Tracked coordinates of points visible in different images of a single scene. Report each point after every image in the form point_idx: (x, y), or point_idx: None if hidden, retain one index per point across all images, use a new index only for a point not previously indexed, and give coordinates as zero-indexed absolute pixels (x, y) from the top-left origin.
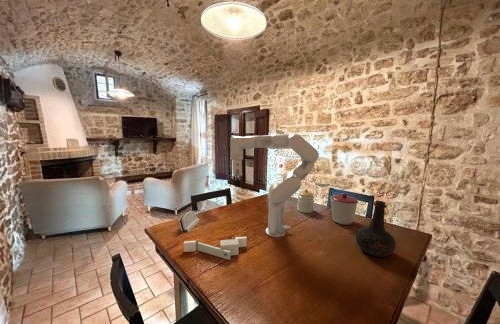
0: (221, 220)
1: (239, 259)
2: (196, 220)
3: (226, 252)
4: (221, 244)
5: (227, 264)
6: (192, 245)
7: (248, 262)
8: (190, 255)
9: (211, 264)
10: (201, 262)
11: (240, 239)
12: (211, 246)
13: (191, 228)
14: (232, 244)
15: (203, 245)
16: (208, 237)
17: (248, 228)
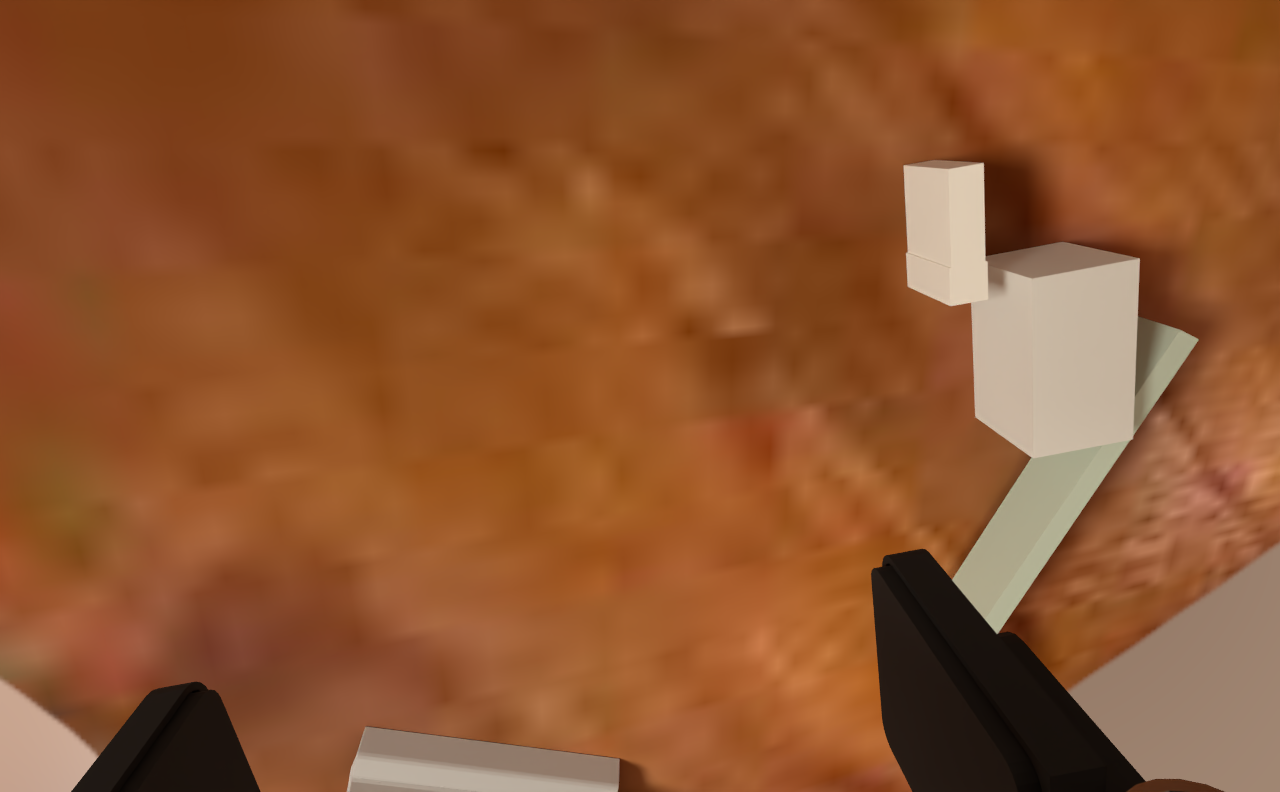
0: (311, 504)
1: (1136, 227)
2: (412, 767)
3: (1172, 364)
4: (1112, 434)
5: (1182, 329)
6: None
7: (1197, 138)
8: None
9: (1154, 456)
10: (1114, 534)
11: (979, 238)
12: (1065, 516)
13: (558, 754)
14: (1135, 323)
15: (1025, 586)
16: (731, 564)
17: (509, 136)
